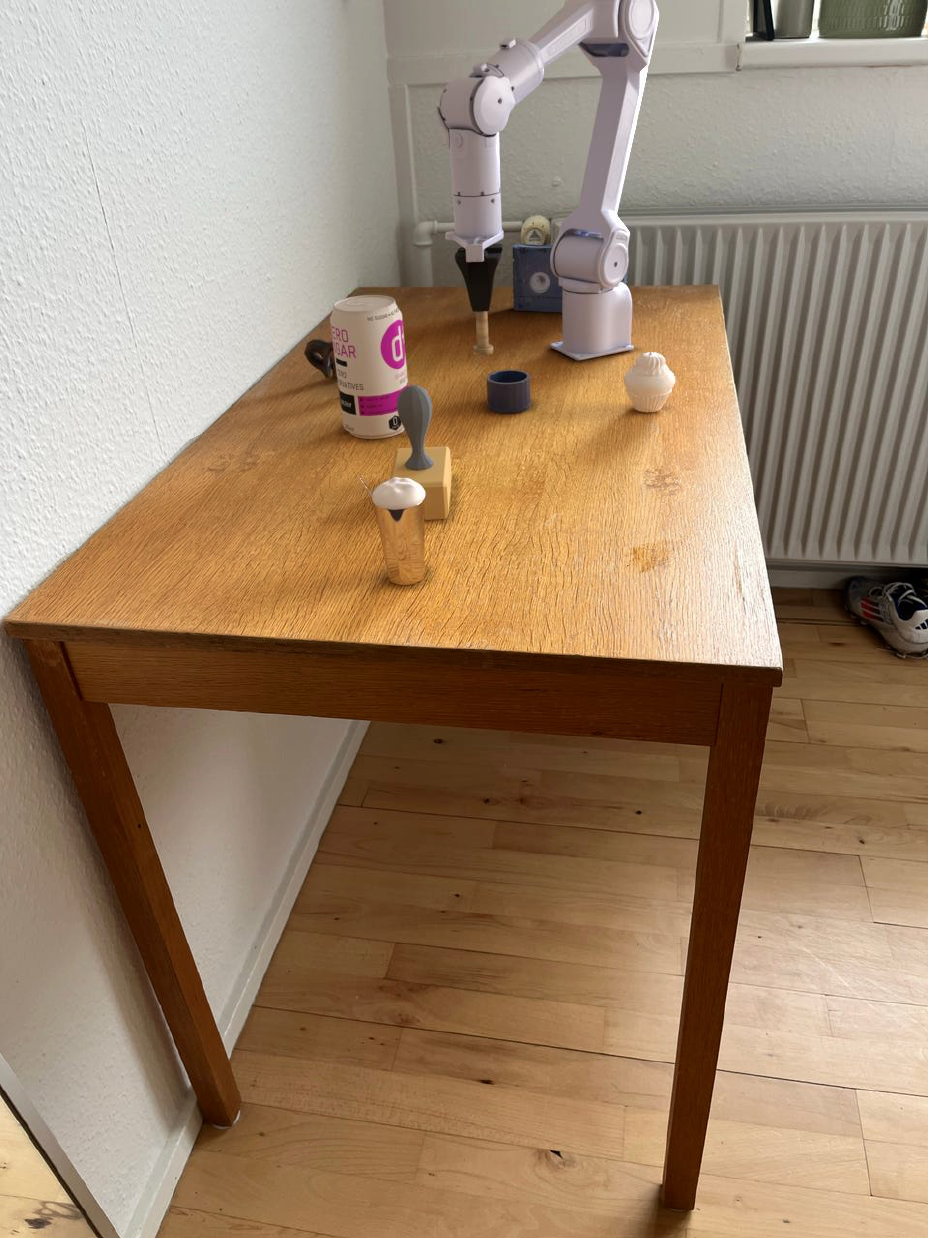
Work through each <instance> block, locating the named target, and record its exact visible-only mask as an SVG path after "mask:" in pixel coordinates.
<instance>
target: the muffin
mask: <svg viewBox="0 0 928 1238" xmlns="http://www.w3.org/2000/svg"><path fill="white" fill-rule="evenodd" d="M675 383H676V378H675V374H674V372H672V371H671V370H670V369H669V367H668V365H667V364H666V358H665V357H664V356H663V355H662V354H661V353H658V352H655V351H654V352H652V351H650V352H644V353H640V354H639V355H638V356H637V357H636V358H635V363H634V364H633V366H632V367H631V369H629V370H628V371H627V372H625V374H624V377H623V384H624V387H625V392H626V393H627V396H628V398H629V400H630V402H631V405H632V406H633V408H634V410H636V411H638V412H640V413H655V412H658V411H661V409H662V408H663V407H664V404H665V403H666V401H667V400H668V399H669V397H670V395H671V393H673V392H672V391H673V388H674V386H675Z"/></svg>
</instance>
